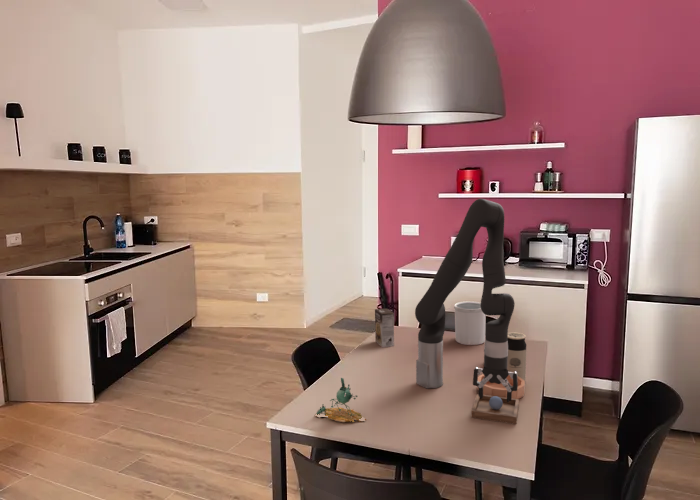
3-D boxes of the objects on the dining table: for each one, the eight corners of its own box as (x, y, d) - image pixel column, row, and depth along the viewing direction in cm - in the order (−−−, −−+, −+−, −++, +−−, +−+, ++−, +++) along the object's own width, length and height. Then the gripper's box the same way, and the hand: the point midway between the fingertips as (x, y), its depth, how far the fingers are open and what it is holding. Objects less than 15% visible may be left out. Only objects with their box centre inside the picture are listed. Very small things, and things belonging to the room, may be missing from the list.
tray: (516, 424, 165) (516, 417, 165) (471, 417, 170) (471, 410, 170) (518, 405, 178) (519, 399, 178) (477, 400, 183) (477, 394, 183)
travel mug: (506, 375, 205) (507, 331, 203) (527, 378, 201) (528, 333, 199) (501, 382, 198) (502, 336, 196) (522, 386, 194) (524, 339, 192)
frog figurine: (322, 407, 181) (325, 367, 178) (371, 420, 174) (375, 379, 172) (310, 419, 172) (313, 377, 169) (361, 433, 166) (365, 390, 163)
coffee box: (374, 341, 250) (374, 309, 247) (387, 340, 252) (387, 307, 249) (381, 347, 241) (381, 313, 239) (394, 346, 243) (394, 312, 241)
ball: (497, 413, 171) (496, 400, 171) (486, 409, 175) (485, 397, 174) (505, 408, 174) (504, 396, 173) (495, 405, 177) (494, 392, 177)
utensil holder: (456, 345, 241) (456, 309, 239) (451, 336, 256) (451, 301, 254) (488, 345, 241) (489, 308, 238) (481, 335, 255) (482, 301, 253)
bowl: (523, 403, 180) (523, 392, 179) (474, 397, 186) (475, 386, 185) (525, 385, 195) (525, 375, 194) (480, 380, 201) (480, 370, 200)
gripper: (519, 351, 172) (517, 398, 174) (475, 347, 177) (474, 392, 180) (517, 359, 165) (516, 407, 167) (472, 354, 170) (471, 401, 173)
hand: (494, 399), depth 173 cm, fingers open, 8 cm apart
